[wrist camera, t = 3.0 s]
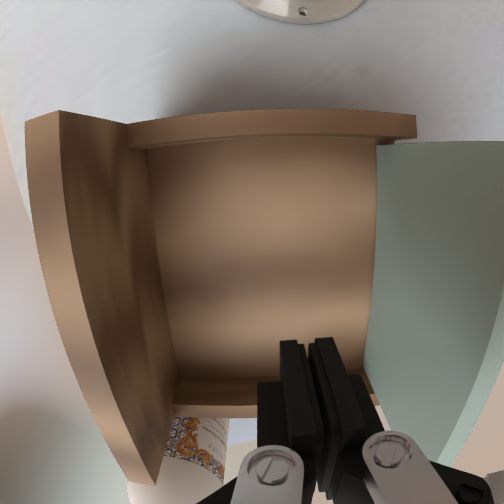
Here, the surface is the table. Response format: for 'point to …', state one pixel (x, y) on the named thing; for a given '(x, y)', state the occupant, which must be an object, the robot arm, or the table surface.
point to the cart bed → (202, 256)
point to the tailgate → (437, 289)
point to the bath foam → (187, 463)
